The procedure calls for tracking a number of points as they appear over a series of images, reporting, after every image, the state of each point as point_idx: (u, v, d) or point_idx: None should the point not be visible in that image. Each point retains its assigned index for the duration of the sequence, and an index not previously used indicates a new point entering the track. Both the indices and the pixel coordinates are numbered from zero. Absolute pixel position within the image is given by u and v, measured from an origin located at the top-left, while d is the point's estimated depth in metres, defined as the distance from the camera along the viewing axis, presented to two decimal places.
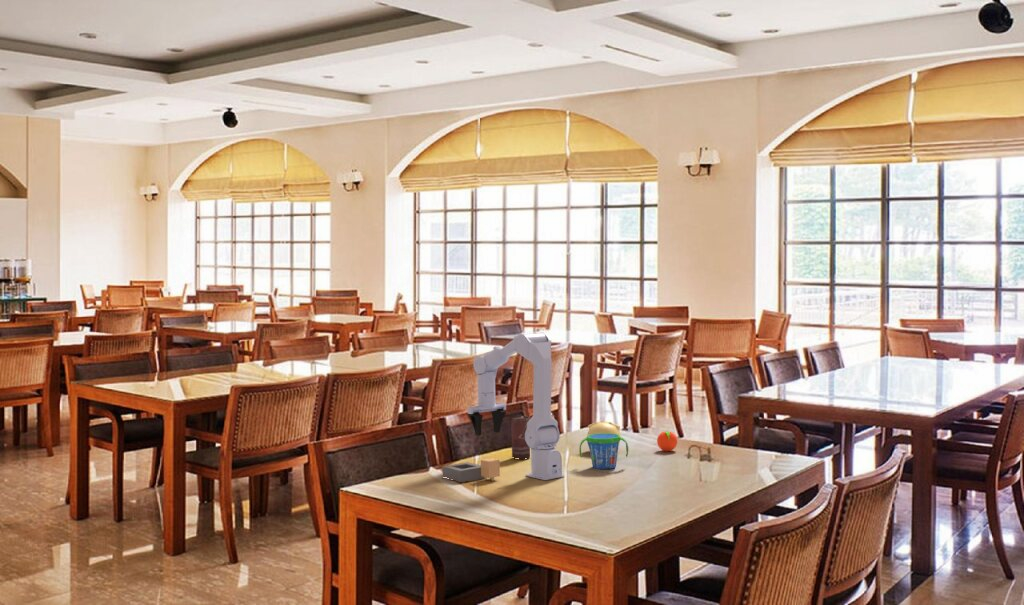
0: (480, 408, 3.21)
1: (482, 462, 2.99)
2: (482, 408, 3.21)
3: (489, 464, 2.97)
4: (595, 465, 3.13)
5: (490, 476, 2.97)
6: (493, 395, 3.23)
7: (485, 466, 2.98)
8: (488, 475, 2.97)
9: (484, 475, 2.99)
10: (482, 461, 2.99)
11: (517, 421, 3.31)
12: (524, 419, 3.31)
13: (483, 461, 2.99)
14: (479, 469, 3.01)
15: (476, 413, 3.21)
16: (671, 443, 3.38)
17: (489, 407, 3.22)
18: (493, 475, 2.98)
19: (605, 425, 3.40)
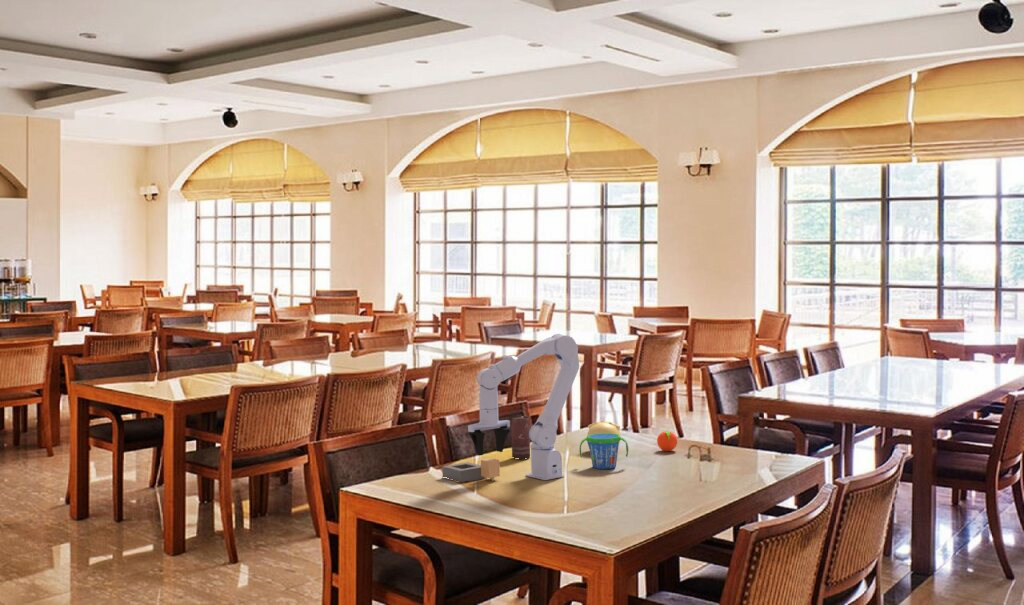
0: (482, 426, 2.95)
1: (482, 462, 2.99)
2: (484, 426, 2.96)
3: (489, 464, 2.97)
4: (595, 465, 3.13)
5: (490, 476, 2.97)
6: (496, 412, 2.98)
7: (485, 466, 2.98)
8: (488, 475, 2.97)
9: (484, 475, 2.99)
10: (482, 461, 2.99)
11: (517, 421, 3.31)
12: (524, 419, 3.31)
13: (483, 461, 2.99)
14: (479, 469, 3.01)
15: (477, 431, 2.96)
16: (671, 443, 3.38)
17: (491, 424, 2.96)
18: (493, 475, 2.98)
19: (605, 425, 3.40)
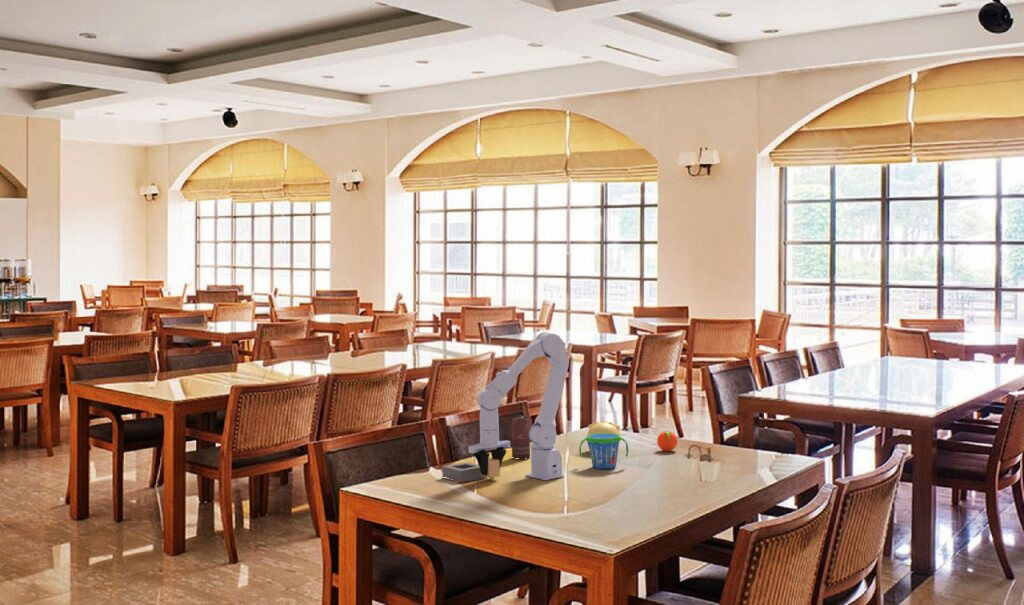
0: (482, 447, 2.96)
1: None
2: (484, 447, 2.96)
3: (489, 464, 2.97)
4: (595, 465, 3.13)
5: (490, 476, 2.97)
6: (497, 433, 2.98)
7: None
8: (488, 475, 2.97)
9: (484, 475, 2.99)
10: None
11: (517, 421, 3.31)
12: (524, 419, 3.31)
13: None
14: (479, 469, 3.01)
15: (482, 451, 2.97)
16: (671, 443, 3.38)
17: (492, 445, 2.97)
18: (493, 475, 2.98)
19: (605, 425, 3.40)
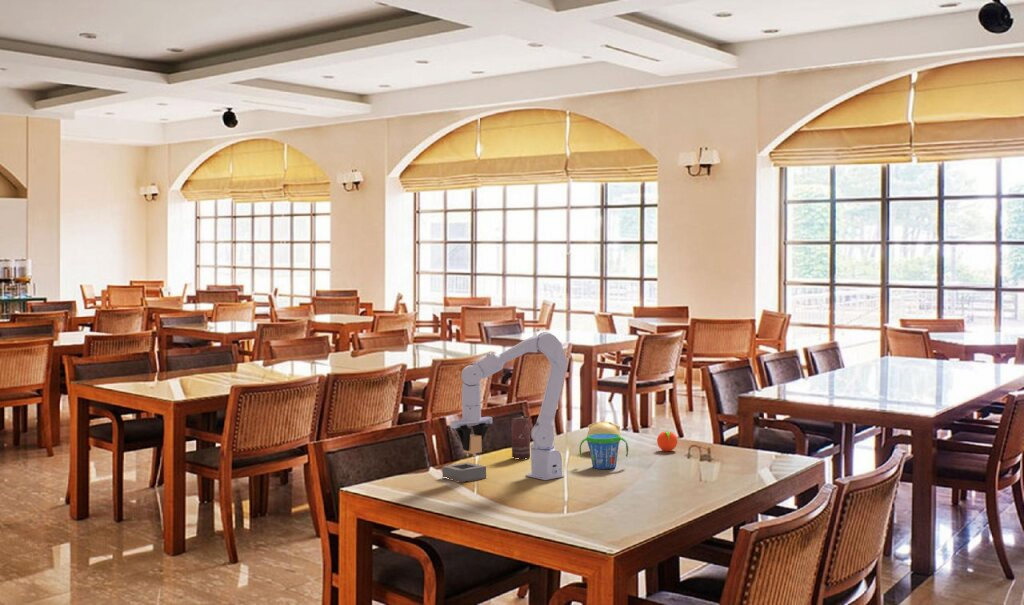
0: (464, 422, 2.98)
1: None
2: (466, 422, 2.98)
3: (471, 440, 2.99)
4: (595, 465, 3.13)
5: (472, 452, 2.99)
6: (479, 408, 3.00)
7: None
8: (470, 450, 2.99)
9: (466, 451, 3.01)
10: None
11: (517, 421, 3.31)
12: (524, 419, 3.31)
13: None
14: (479, 469, 3.01)
15: (464, 427, 2.99)
16: (671, 443, 3.38)
17: (474, 421, 2.99)
18: (475, 451, 3.00)
19: (605, 425, 3.40)
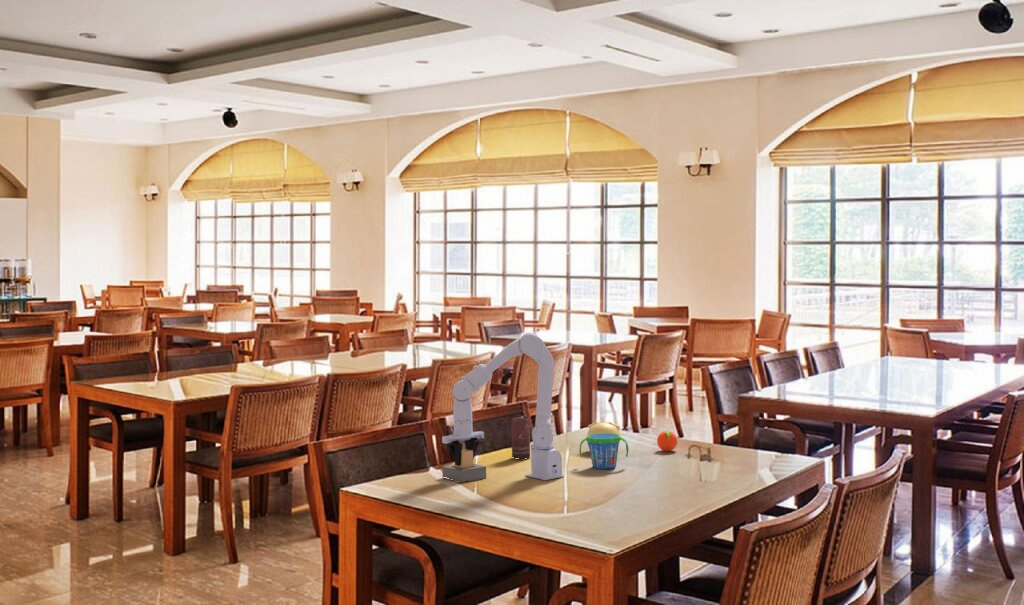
0: (456, 437, 2.99)
1: None
2: (458, 437, 3.00)
3: (462, 455, 3.01)
4: (595, 465, 3.13)
5: (464, 466, 3.01)
6: (470, 423, 3.02)
7: None
8: (462, 465, 3.01)
9: None
10: None
11: (517, 421, 3.31)
12: (524, 419, 3.31)
13: None
14: (479, 469, 3.01)
15: (455, 442, 3.00)
16: (671, 443, 3.38)
17: (465, 436, 3.00)
18: (467, 465, 3.02)
19: (605, 425, 3.40)
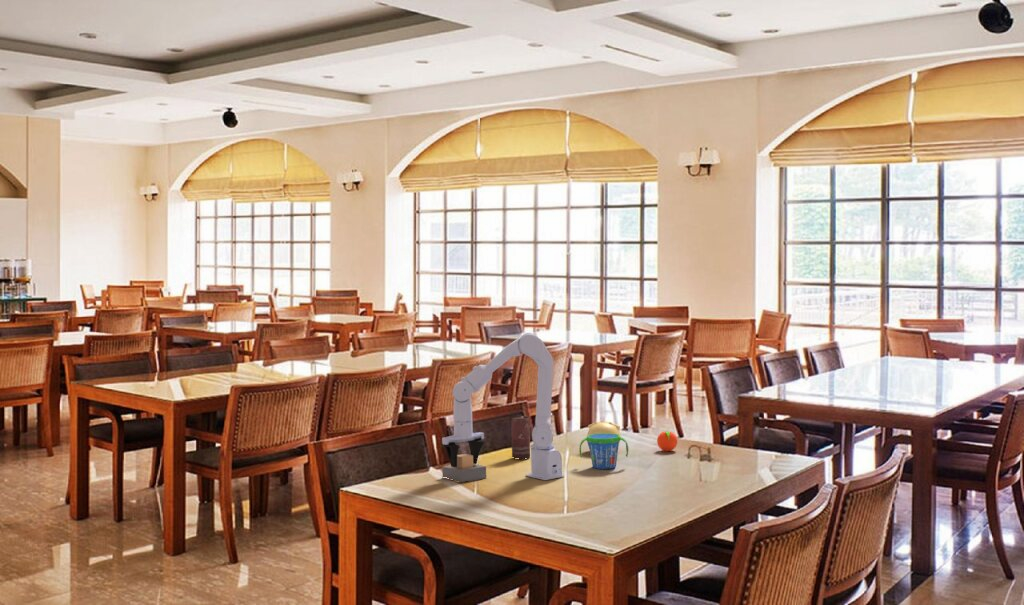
0: (456, 438, 2.99)
1: None
2: (458, 438, 3.00)
3: (462, 460, 3.01)
4: (595, 465, 3.13)
5: None
6: (470, 424, 3.02)
7: (459, 461, 3.02)
8: None
9: None
10: None
11: (517, 421, 3.31)
12: (524, 419, 3.31)
13: (457, 457, 3.03)
14: (479, 469, 3.01)
15: (451, 443, 2.99)
16: (671, 443, 3.38)
17: (465, 437, 3.00)
18: None
19: (605, 425, 3.40)
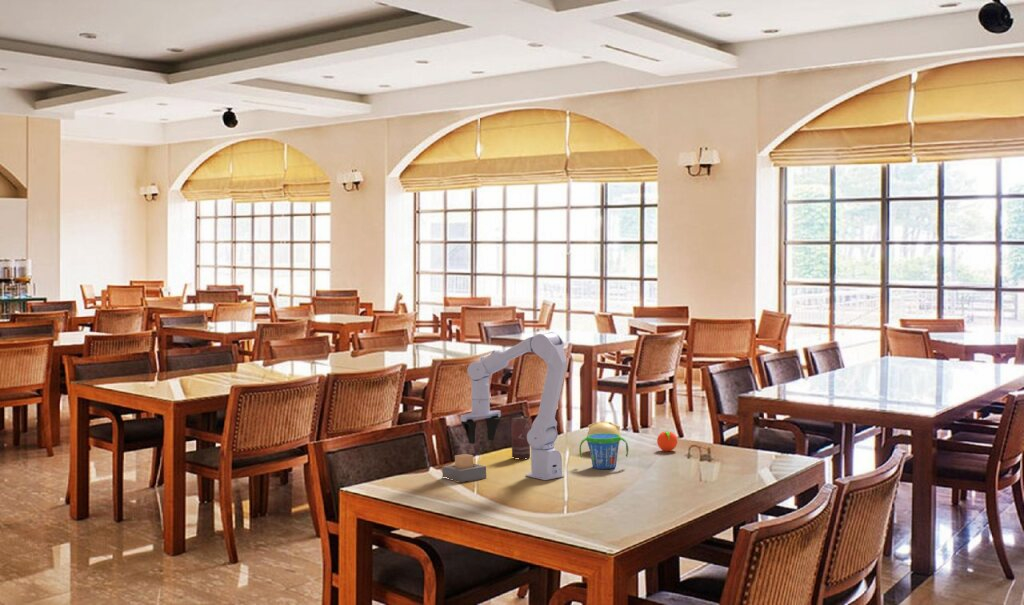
0: (474, 415, 3.09)
1: (456, 457, 3.03)
2: (476, 415, 3.10)
3: (462, 460, 3.01)
4: (595, 465, 3.13)
5: None
6: (488, 402, 3.11)
7: (459, 461, 3.02)
8: None
9: None
10: (456, 457, 3.03)
11: (517, 421, 3.31)
12: (524, 419, 3.31)
13: (457, 457, 3.03)
14: (479, 469, 3.01)
15: (469, 420, 3.09)
16: (671, 443, 3.38)
17: (483, 414, 3.10)
18: None
19: (605, 425, 3.40)
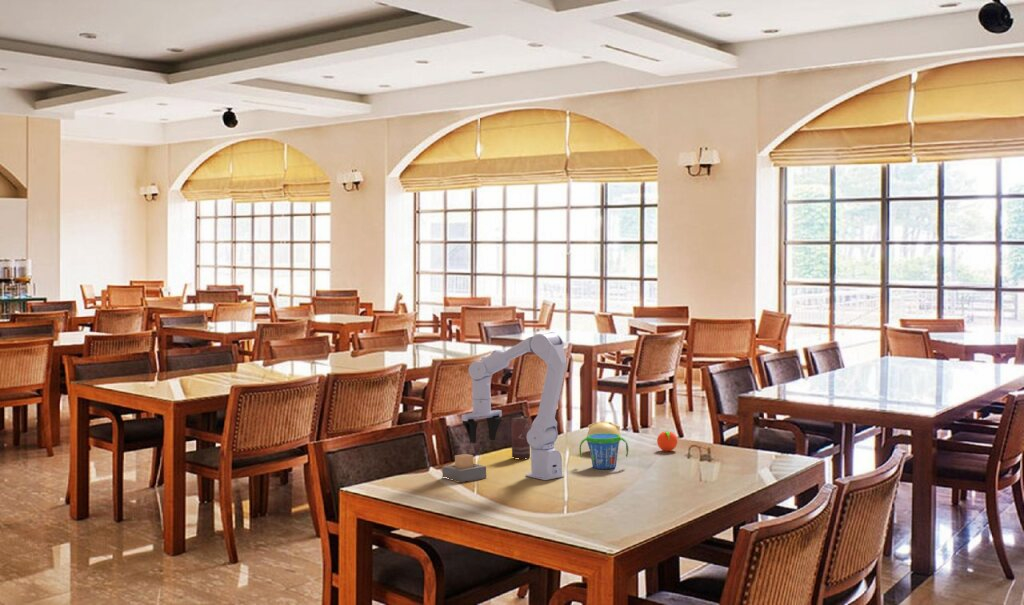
0: (475, 415, 3.10)
1: (456, 457, 3.03)
2: (477, 415, 3.10)
3: (462, 460, 3.01)
4: (595, 465, 3.13)
5: None
6: (489, 402, 3.12)
7: (459, 461, 3.02)
8: None
9: None
10: (456, 457, 3.03)
11: (517, 421, 3.31)
12: (524, 419, 3.31)
13: (457, 457, 3.03)
14: (479, 469, 3.01)
15: (471, 420, 3.10)
16: (671, 443, 3.38)
17: (484, 414, 3.11)
18: None
19: (605, 425, 3.40)
